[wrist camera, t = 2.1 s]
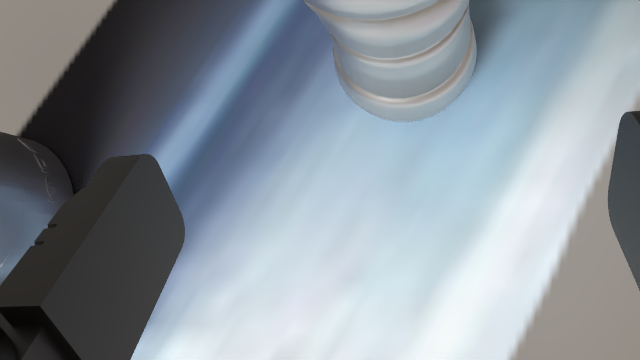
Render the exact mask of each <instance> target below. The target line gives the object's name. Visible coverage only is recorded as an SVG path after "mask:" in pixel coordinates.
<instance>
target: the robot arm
mask: <svg viewBox="0 0 640 360" xmlns="http://www.w3.org/2000/svg"><path fill="white" fill-rule="evenodd" d="M608 209H609V216H610V221H611V224H612V227H613V230H614V232H615V234H616V237H617V239H618V241H619V244H620V246H621V248H622V251H623V253H624V255H625V257H626V260H627V262H628V264H629V267H630V269H631V271H632V274H633V276H634V278H635V281H636V283H637V285H638V288H639V290H640V111H632V112H626V113H624V115H623V116H622V118H621V120H620V124H619V129H618V135H617V141H616V147H615V153H614V159H613V165H612V171H611V177H610V183H609V190H608ZM184 236H185V227H184V220H183V217H182V214H181V212H180V210H179V207H178V205H177V203H176V201H175V199H174V197H173V194H172V192H171V190H170V188H169V186H168V183H167V181H166V179H165V177H164V175H163V172H162V170H161V168H160V166H159V164H158V162H157V161H156V159H155V158H154V157H153V156H151V155H149V154H142V155H131V156H120V157H111V158H108V159H107V160H106V161H105V162H104V163H103V164H102V165H101V167H100V168H99V169H98V171H97V172H96V173H95V175H94V176H93V177H92V179H91V180H90V181H89V183H88V184H87V185H86V186H85V187H84V188H83V189H81V190H80V191H79V192H78V193H76V194H75V195H73V189H72V184H71V181H70V179H69V176H68V173H67V171H66V169H65V167H64V166H63V164H62V163H61V161H60V160H59V158H58V157H57V156H56V155H55V154H54V153H53V152H52V151H51V150H49V149H48V148H47V147H45V146H43V145H42V144H40V143H38V142H36V141H33V140H29V139H25V138H21V137H18V136H14V135H10V134H6V133H2V132H0V360H130V359H131V357H132V355H133V353H134V350H135V348H136V346H137V344H138V342H139V340H140V337H141V335H142V333H143V331H144V329H145V327H146V324H147V322H148V320H149V318H150V316H151V314H152V311H153V309H154V307H155V305H156V303H157V301H158V298H159V296H160V294H161V292H162V290H163V288H164V285H165V283H166V281H167V279H168V277H169V275H170V272H171V270H172V268H173V266H174V264H175V262H176V259H177V257H178V255H179V253H180V251H181V249H182V246H183V243H184Z"/></svg>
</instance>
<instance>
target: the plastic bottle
mask: <svg viewBox="0 0 640 360" xmlns="http://www.w3.org/2000/svg"><path fill="white" fill-rule="evenodd" d="M303 1H304V2H305V3H306V4H307V5H308V6H309V7H310V8H311V9H312V10H313V11H314V12H315V13H316V14H317V15H318V16H319V18H320V19H321V21H322V23H323V24H324V26H325V27H326V29H327V30H328V32H329V33H330V36H331V39H332V43H333V55H334V63H335V68H336V73H337V76H338V79H339V81H340V84H341V86H342V87H343V89H344V91H345V92H346V94H347V95H348V96H349V97H350V98H351V99H352V100H353V101H354V102H355V104H357V105H358V106H359V107H361V108H362V109H364V110H365V111H367V112H369V113H371V114H373V115H375V116H377V117H380V118H382V119H385V120H390V121H394V122H412V121H419V120H423V119H426V118H429V117H431V116H434V115H435V114H437V113H439V112H441V111H442V110H444V109H445V108H446V107H448V106H449V105H450V104H451V103H452V102H453V101H454V100H455V99H456V98H457V97H458V96H459V95H460V94H461V92H462V91H463V90H464V89H465V87H466V86H467V84H468V82H469V80H470V78H471V76H472V74H473V71H474V67H475V64H476V56H477V45H476V40H475V34H474V29H473V24H472V21H471V19H470V15H469V1H470V0H303Z"/></svg>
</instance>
